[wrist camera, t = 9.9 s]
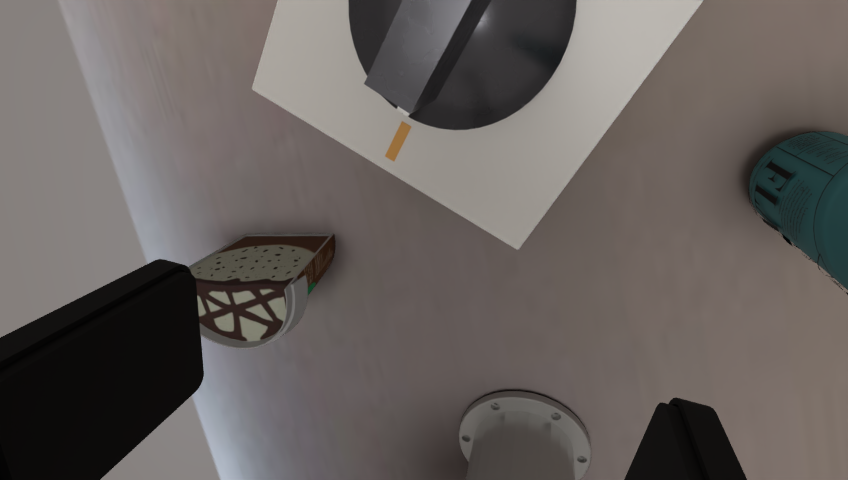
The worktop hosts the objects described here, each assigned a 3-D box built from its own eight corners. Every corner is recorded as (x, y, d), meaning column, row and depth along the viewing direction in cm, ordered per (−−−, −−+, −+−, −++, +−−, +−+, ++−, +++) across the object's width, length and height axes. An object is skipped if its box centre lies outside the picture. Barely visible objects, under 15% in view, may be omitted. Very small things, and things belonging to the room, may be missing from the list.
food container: (249, 289, 46) (177, 349, 37) (232, 234, 44) (151, 284, 35) (360, 293, 43) (310, 360, 34) (349, 233, 40) (291, 289, 31)
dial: (420, -175, 25) (373, -249, 19) (628, -39, 25) (654, -65, 19) (326, 56, 32) (267, 62, 25) (491, 163, 32) (475, 197, 25)
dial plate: (519, 239, 36) (517, 250, 34) (266, 86, 37) (250, 89, 35) (760, -89, 25) (776, -98, 23) (388, -309, 25) (375, -336, 23)
